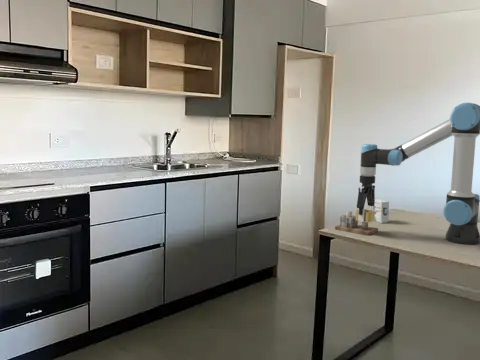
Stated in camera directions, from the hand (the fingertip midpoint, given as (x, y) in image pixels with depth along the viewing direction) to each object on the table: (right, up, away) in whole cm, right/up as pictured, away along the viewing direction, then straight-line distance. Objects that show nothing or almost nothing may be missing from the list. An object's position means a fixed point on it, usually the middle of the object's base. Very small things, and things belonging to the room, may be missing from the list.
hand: (364, 219), depth 251 cm
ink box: (+15, -3, +26) cm, 30 cm away
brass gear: (0, 0, 0) cm, 0 cm away
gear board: (-3, -6, +4) cm, 7 cm away
